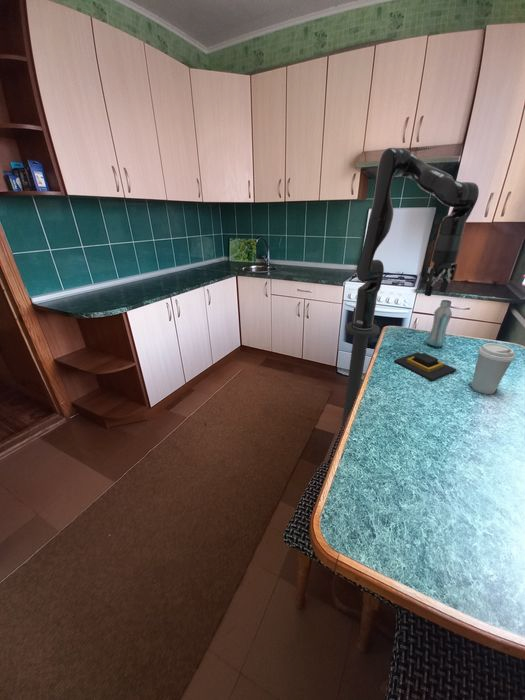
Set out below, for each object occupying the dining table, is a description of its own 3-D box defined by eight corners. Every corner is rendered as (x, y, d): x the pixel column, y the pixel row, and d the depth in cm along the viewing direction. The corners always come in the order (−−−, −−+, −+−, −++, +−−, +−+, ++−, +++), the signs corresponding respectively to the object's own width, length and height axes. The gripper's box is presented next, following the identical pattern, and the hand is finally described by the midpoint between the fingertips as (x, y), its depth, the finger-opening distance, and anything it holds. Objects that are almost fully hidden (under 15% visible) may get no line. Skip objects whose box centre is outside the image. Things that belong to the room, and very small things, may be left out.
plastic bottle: (431, 348, 124) (443, 304, 116) (423, 342, 131) (434, 299, 122) (446, 348, 125) (459, 303, 116) (437, 341, 131) (449, 298, 122)
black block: (412, 362, 112) (414, 355, 111) (422, 359, 114) (423, 352, 113) (427, 369, 107) (429, 362, 106) (436, 365, 109) (438, 359, 108)
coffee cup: (473, 395, 94) (488, 354, 87) (461, 379, 103) (474, 341, 96) (506, 398, 93) (524, 356, 86) (491, 381, 101) (506, 343, 94)
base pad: (393, 362, 115) (395, 356, 113) (417, 354, 120) (418, 348, 119) (431, 381, 102) (433, 375, 101) (455, 371, 108) (457, 365, 106)
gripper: (449, 245, 106) (437, 289, 114) (423, 248, 101) (413, 294, 108) (470, 248, 100) (456, 293, 108) (444, 251, 95) (431, 299, 102)
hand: (434, 293), depth 108 cm, fingers open, 8 cm apart
